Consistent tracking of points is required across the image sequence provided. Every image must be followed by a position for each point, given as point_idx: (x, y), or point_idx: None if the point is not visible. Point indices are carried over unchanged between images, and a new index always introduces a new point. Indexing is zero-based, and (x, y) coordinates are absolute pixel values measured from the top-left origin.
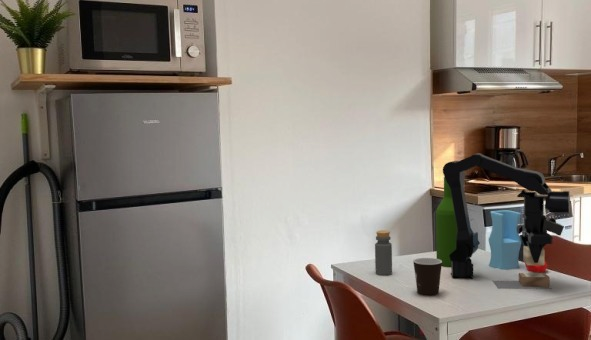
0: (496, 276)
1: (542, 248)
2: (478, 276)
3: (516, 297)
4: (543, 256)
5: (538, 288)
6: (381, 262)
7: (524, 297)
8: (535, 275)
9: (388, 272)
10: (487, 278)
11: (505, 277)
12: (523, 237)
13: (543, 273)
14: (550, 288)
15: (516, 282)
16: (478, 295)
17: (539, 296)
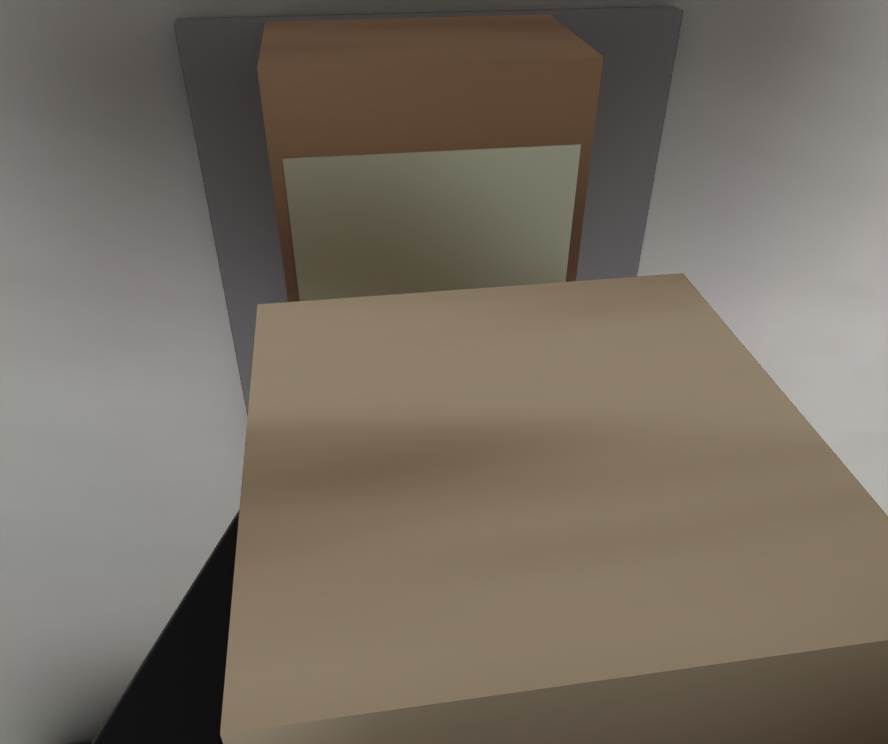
0: (20, 569)
1: (765, 670)
2: (88, 693)
3: (845, 452)
4: (799, 444)
5: (627, 208)
6: None
7: (867, 390)
8: (471, 286)
9: None
10: (151, 634)
11: (35, 492)
12: None
13: (297, 110)
14: (647, 28)
15: None
16: None
17: (883, 244)
